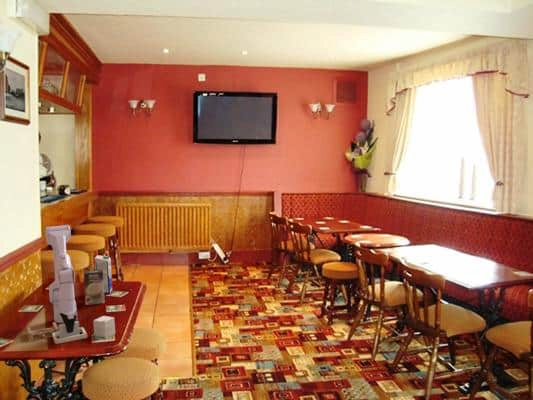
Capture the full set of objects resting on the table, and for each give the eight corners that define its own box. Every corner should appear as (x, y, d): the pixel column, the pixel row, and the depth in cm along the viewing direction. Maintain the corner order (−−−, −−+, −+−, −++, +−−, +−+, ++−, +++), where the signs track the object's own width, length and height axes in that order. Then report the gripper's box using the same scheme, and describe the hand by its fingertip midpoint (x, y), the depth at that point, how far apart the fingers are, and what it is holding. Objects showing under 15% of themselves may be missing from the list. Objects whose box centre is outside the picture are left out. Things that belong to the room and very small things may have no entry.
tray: (83, 332, 213) (82, 327, 212) (87, 339, 205) (86, 333, 205) (52, 338, 207) (52, 332, 206) (55, 345, 199) (55, 340, 199)
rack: (55, 329, 217) (54, 321, 216) (58, 337, 208) (58, 328, 208) (27, 335, 211) (26, 326, 211) (29, 342, 203) (28, 334, 202)
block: (79, 335, 208) (78, 321, 208) (79, 336, 207) (78, 322, 206) (59, 339, 204) (58, 324, 204) (60, 340, 203) (59, 325, 202)
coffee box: (85, 305, 249) (83, 273, 248) (85, 301, 255) (83, 270, 254) (104, 303, 252) (103, 271, 250) (104, 299, 258) (102, 268, 256)
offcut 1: (42, 336, 207) (42, 331, 207) (43, 338, 205) (42, 333, 205) (32, 338, 205) (32, 333, 205) (32, 340, 204) (32, 335, 203)
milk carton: (99, 291, 274) (97, 254, 272) (112, 290, 275) (110, 254, 272) (96, 294, 267) (94, 257, 265) (109, 294, 268) (107, 257, 265)
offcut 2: (54, 334, 210) (54, 329, 209) (55, 335, 208) (55, 331, 207) (44, 335, 208) (44, 331, 208) (45, 337, 206) (44, 332, 206)
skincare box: (104, 332, 213) (102, 315, 212) (115, 334, 210) (114, 317, 209) (93, 337, 207) (92, 320, 206) (105, 339, 205) (104, 321, 204)
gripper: (53, 295, 208) (56, 327, 210) (59, 304, 196) (61, 338, 197) (72, 292, 212) (74, 324, 213) (78, 301, 199) (80, 335, 201)
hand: (69, 331), depth 205 cm, fingers open, 3 cm apart
